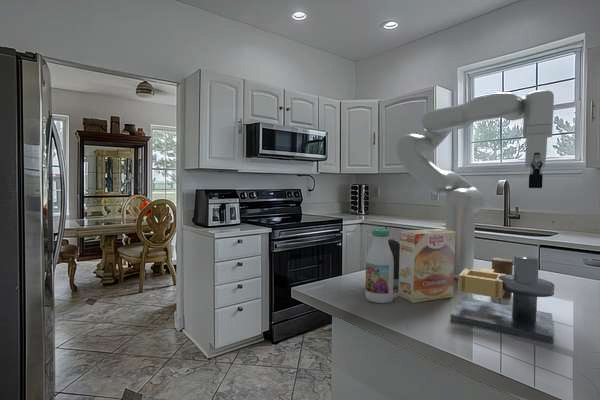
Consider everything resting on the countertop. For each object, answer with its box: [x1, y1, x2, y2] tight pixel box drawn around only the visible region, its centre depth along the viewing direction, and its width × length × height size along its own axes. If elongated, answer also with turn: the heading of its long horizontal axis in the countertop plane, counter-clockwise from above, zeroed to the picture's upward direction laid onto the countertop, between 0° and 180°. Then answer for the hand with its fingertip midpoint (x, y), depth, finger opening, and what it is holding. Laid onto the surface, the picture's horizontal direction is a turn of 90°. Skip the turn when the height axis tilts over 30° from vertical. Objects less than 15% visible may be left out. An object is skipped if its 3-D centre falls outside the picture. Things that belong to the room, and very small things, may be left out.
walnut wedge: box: [491, 256, 514, 300], centre depth 102 cm, size 5×4×11 cm
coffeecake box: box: [397, 228, 456, 303], centre depth 101 cm, size 15×7×20 cm, turn 112°
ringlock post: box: [450, 255, 555, 345], centre depth 84 cm, size 20×16×16 cm
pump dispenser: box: [388, 238, 400, 289], centre depth 111 cm, size 10×10×15 cm
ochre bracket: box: [457, 267, 506, 300], centre depth 89 cm, size 10×14×4 cm, turn 144°
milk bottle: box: [364, 228, 394, 304], centre depth 98 cm, size 8×8×20 cm
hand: (535, 188), depth 107 cm, fingers open, 9 cm apart
